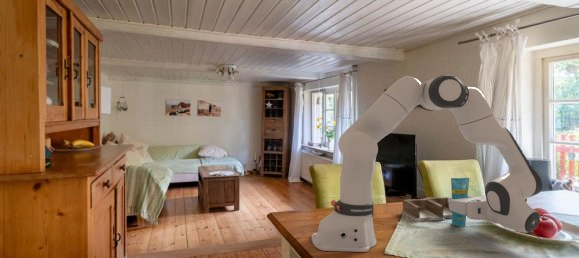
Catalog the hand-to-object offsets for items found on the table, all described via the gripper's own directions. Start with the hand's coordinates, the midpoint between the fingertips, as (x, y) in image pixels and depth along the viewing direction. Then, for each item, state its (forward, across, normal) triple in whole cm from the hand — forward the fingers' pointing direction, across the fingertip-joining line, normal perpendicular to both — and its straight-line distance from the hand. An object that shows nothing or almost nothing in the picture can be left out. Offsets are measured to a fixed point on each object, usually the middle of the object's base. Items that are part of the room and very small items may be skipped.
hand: (458, 199), depth 130 cm
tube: (0, 0, +11) cm, 11 cm away
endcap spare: (+13, -4, +10) cm, 17 cm away
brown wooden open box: (+13, +7, +10) cm, 18 cm away
